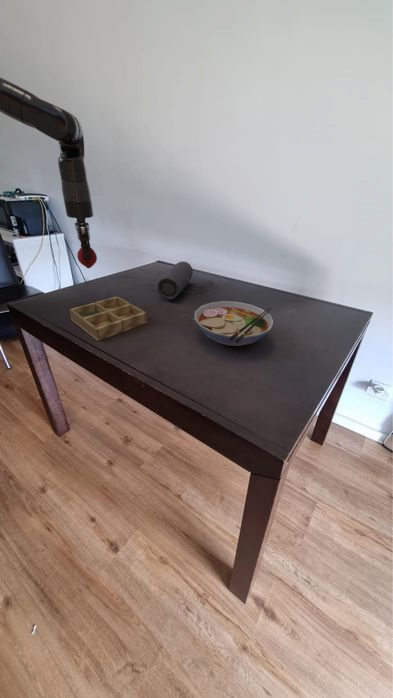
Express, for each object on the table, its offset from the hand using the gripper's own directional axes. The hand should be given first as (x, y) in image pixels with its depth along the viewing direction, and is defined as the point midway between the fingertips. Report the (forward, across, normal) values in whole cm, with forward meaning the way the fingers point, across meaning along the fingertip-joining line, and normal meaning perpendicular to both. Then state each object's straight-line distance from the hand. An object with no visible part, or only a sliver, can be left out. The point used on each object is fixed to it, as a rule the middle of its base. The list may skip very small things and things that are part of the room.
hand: (87, 257), depth 92 cm
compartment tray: (+17, +13, +3) cm, 22 cm away
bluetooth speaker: (+18, -6, +32) cm, 37 cm away
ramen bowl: (+18, +35, +36) cm, 53 cm away
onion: (+4, 0, 0) cm, 4 cm away
